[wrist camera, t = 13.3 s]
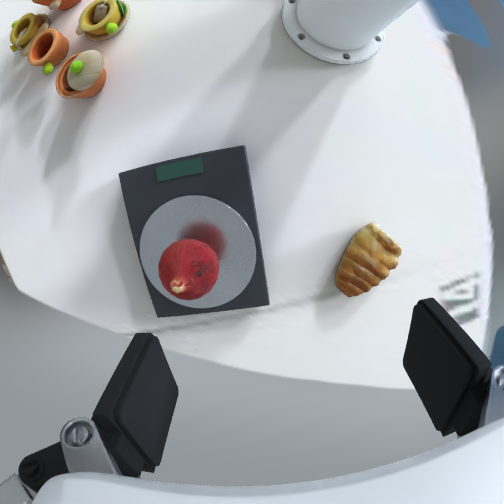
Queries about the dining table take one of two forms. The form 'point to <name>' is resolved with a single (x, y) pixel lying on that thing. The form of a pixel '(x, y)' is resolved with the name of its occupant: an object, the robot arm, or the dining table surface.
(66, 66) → the toy tea set
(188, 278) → the onion
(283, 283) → the dining table surface
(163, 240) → the scale pan
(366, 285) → the pastry
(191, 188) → the scale
